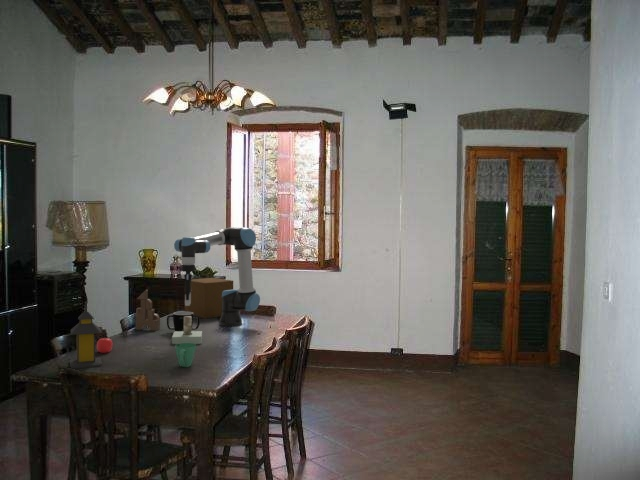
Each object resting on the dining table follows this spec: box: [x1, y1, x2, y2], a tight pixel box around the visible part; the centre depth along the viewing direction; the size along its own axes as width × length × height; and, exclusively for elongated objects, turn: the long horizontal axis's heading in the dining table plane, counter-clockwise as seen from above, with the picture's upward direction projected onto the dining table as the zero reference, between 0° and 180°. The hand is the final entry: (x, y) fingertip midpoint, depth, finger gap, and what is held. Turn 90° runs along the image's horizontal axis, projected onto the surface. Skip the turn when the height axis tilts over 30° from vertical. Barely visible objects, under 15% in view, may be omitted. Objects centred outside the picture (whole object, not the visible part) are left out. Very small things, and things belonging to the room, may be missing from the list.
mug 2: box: [174, 343, 197, 368], centre depth 287 cm, size 15×10×10 cm
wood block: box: [184, 277, 234, 320], centre depth 435 cm, size 25×25×25 cm
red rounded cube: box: [96, 336, 114, 354], centre depth 315 cm, size 8×8×8 cm
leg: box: [184, 316, 193, 335], centre depth 345 cm, size 4×4×14 cm
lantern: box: [69, 301, 103, 369], centre depth 289 cm, size 14×14×30 cm
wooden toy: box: [134, 289, 161, 332], centre depth 377 cm, size 15×7×25 cm, turn 81°
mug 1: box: [166, 311, 201, 331], centre depth 369 cm, size 16×16×12 cm
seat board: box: [171, 330, 203, 345], centre depth 345 cm, size 16×16×4 cm
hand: (187, 304), depth 344 cm, fingers open, 6 cm apart
